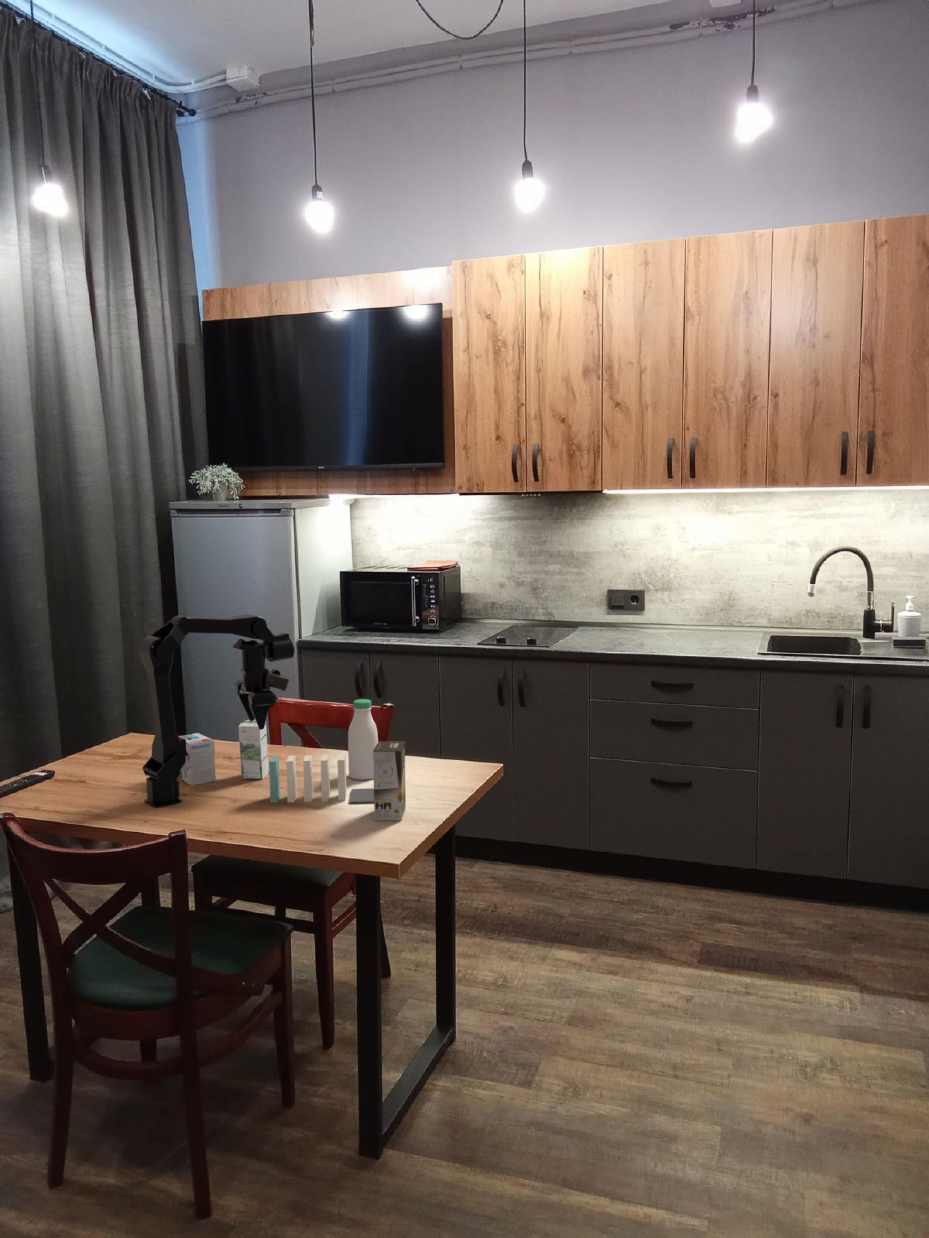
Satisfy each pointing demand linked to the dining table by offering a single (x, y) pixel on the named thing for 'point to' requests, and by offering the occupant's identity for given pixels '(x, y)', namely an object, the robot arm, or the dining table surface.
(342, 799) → the domino
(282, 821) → the dining table surface
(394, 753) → the coffee box
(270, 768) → the domino
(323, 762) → the domino
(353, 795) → the mat
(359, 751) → the milk bottle
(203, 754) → the light bulb box
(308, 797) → the domino
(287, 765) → the domino
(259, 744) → the syrup box
